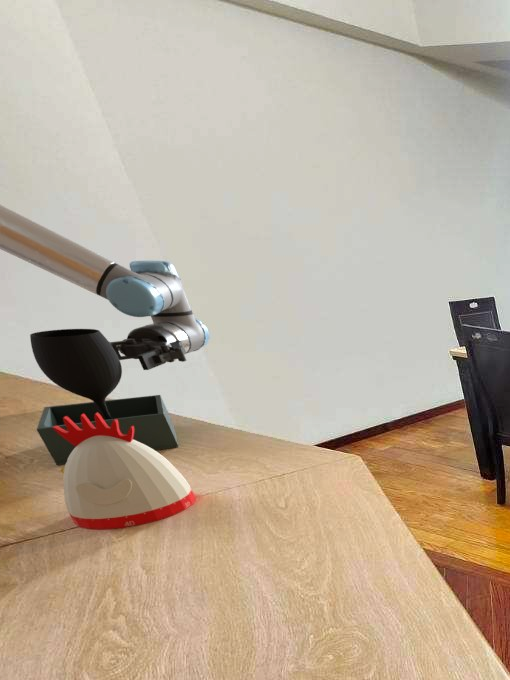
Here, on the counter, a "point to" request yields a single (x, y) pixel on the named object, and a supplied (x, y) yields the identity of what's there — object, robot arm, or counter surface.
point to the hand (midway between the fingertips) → (98, 363)
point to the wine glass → (79, 362)
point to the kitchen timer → (118, 478)
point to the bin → (138, 412)
